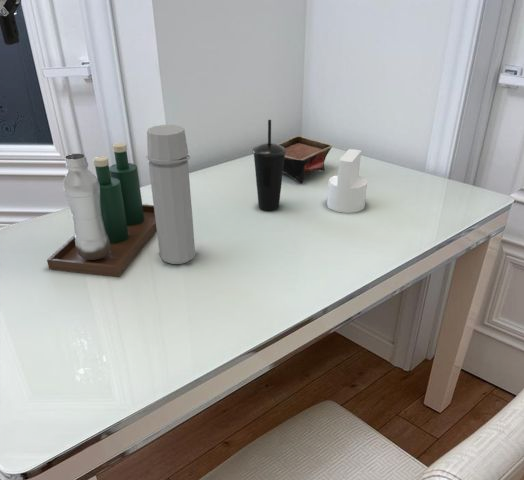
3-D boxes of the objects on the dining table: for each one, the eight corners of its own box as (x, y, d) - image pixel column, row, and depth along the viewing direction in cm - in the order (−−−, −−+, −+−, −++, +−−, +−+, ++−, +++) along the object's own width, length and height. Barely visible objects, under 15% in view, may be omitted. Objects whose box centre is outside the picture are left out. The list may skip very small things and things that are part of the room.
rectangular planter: (335, 178, 153) (338, 140, 148) (295, 186, 141) (298, 145, 136) (294, 171, 161) (296, 134, 156) (253, 177, 149) (255, 138, 144)
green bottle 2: (113, 224, 123) (99, 148, 113) (123, 213, 128) (111, 139, 117) (138, 226, 122) (127, 149, 112) (148, 216, 127) (138, 141, 116)
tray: (49, 269, 108) (46, 259, 106) (111, 210, 131) (110, 201, 130) (118, 277, 105) (116, 267, 104) (170, 215, 128) (169, 206, 127)
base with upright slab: (359, 215, 128) (365, 163, 121) (322, 209, 131) (326, 158, 124) (368, 201, 135) (374, 151, 128) (332, 196, 138) (336, 147, 130)
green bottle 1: (95, 242, 116) (79, 162, 106) (107, 230, 121) (93, 152, 110) (122, 244, 115) (108, 164, 105) (133, 232, 120) (121, 154, 109)
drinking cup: (291, 208, 131) (294, 121, 119) (264, 216, 128) (265, 126, 116) (272, 198, 136) (273, 113, 124) (246, 205, 133) (245, 118, 121)
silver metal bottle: (83, 248, 113) (62, 150, 101) (115, 249, 113) (98, 151, 101) (73, 263, 108) (50, 162, 96) (107, 264, 108) (88, 162, 96)
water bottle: (188, 268, 108) (177, 137, 93) (152, 263, 110) (135, 133, 95) (206, 248, 115) (197, 123, 100) (171, 243, 117) (158, 120, 102)
